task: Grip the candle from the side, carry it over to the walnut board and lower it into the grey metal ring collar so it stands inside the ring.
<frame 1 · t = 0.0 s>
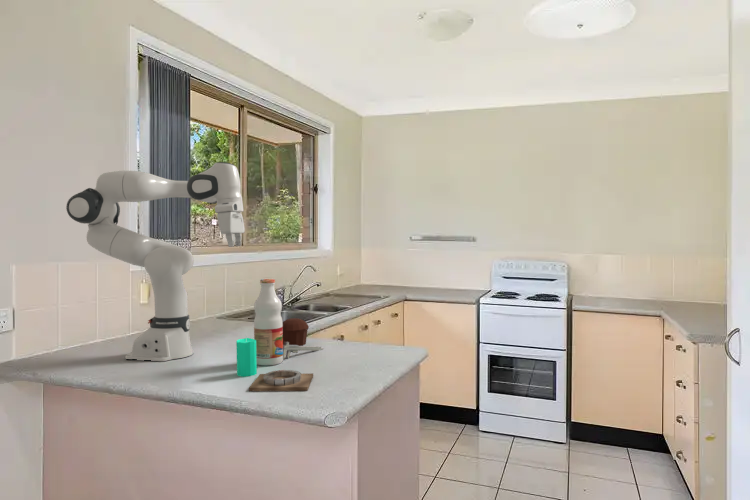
hand: (235, 246, 186), 39 cm above the countertop, tool pointing down, fingers open, 8 cm apart
caliper: (303, 355, 187), on the countertop
muffin: (294, 344, 204), on the countertop
fruit juice: (268, 363, 175), on the countertop
ring board: (282, 383, 150), on the countertop
ring collar: (282, 377, 150), on the ring board, point 1 cm above the countertop
candle: (246, 374, 161), on the countertop
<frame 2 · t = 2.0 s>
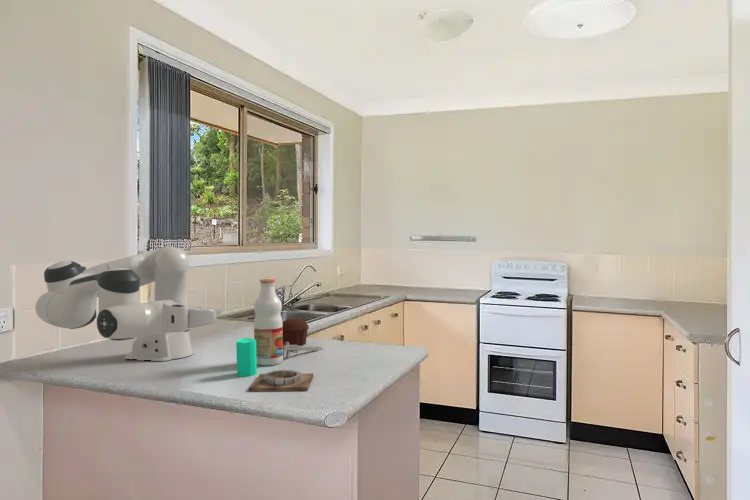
hand: (209, 311, 151), 21 cm above the countertop, tool horizontal, fingers open, 8 cm apart
nothing on the countertop moved.
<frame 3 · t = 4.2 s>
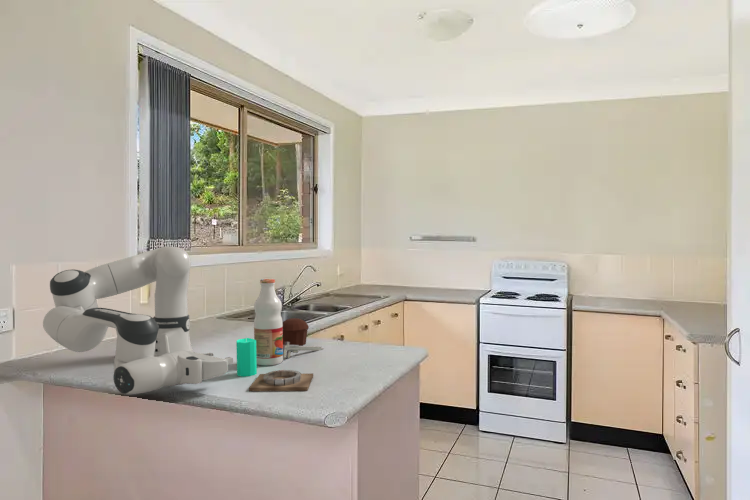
hand: (221, 357, 154), 7 cm above the countertop, tool horizontal, fingers open, 8 cm apart
nothing on the countertop moved.
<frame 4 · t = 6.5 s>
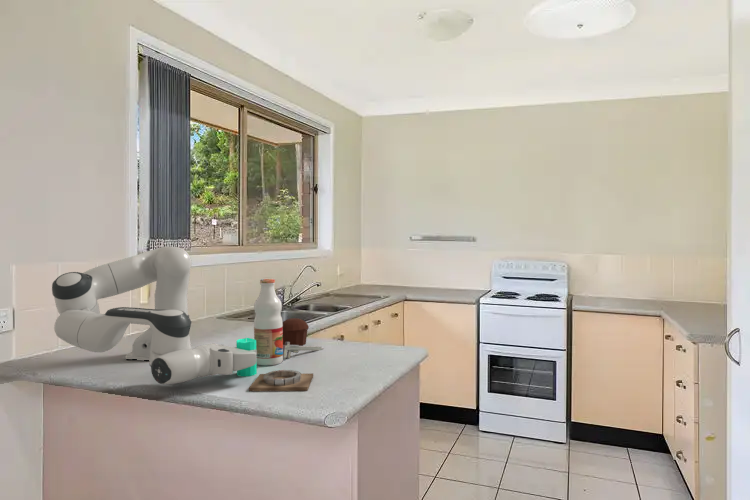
hand: (248, 350, 162), 7 cm above the countertop, tool horizontal, fingers closed on candle, 5 cm apart
candle: (246, 374, 161), on the countertop, touching gripper
everything else where it was.
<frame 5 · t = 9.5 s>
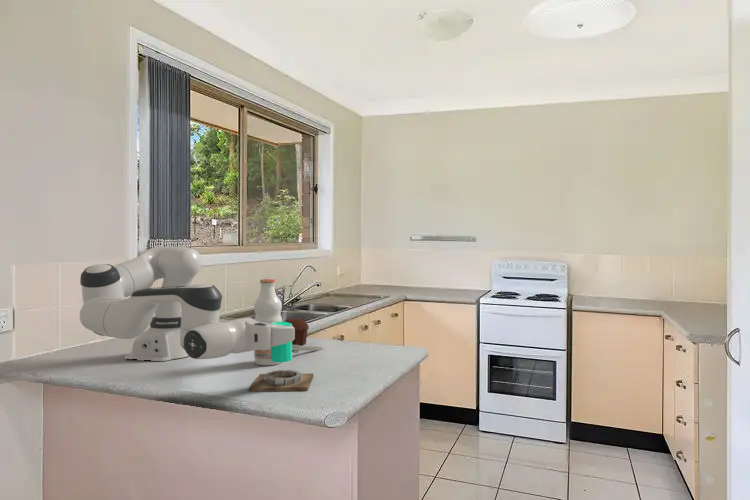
hand: (284, 327, 151), 16 cm above the countertop, tool horizontal, fingers closed on candle, 5 cm apart
candle: (281, 360, 150), point 7 cm above the countertop, touching gripper
everything else where it was.
when the fingers open (10 cm above the countertop, at t = 11.3 s): candle stays where it is, resting on ring board.
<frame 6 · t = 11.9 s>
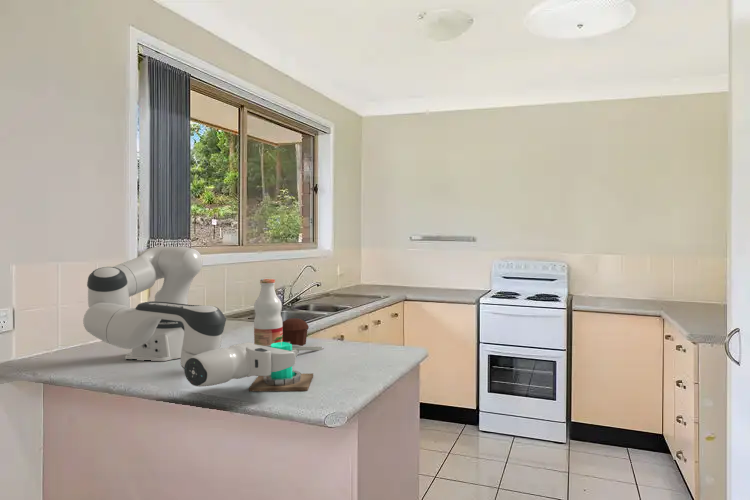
hand: (284, 350, 151), 10 cm above the countertop, tool horizontal, fingers open, 8 cm apart
candle: (281, 381, 150), point 1 cm above the countertop, touching ring board
everything else where it was.
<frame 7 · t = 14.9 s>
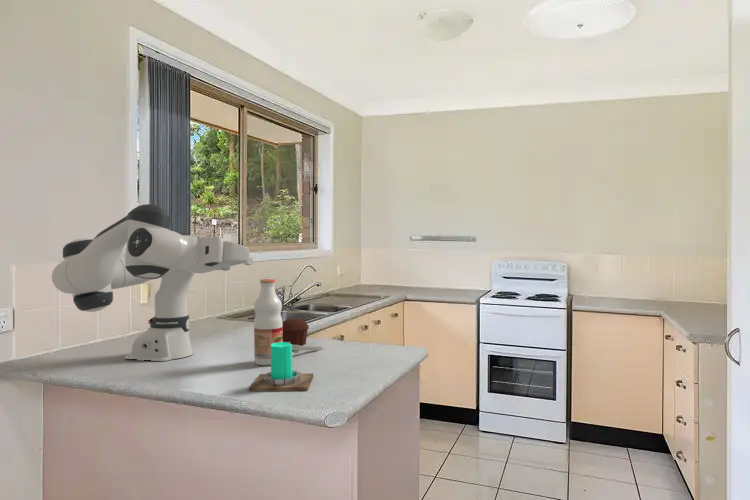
hand: (239, 264, 143), 35 cm above the countertop, tool horizontal, fingers open, 8 cm apart
nothing on the countertop moved.
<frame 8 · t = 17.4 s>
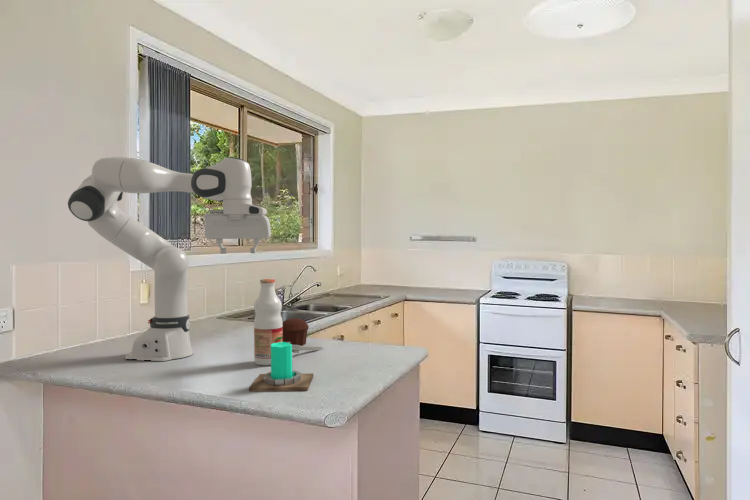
hand: (238, 253, 164), 37 cm above the countertop, tool pointing down, fingers open, 8 cm apart
nothing on the countertop moved.
at the end: candle 0.4 cm from the ring collar (horizontally); candle tilted 0°; the gripper is holding nothing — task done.
